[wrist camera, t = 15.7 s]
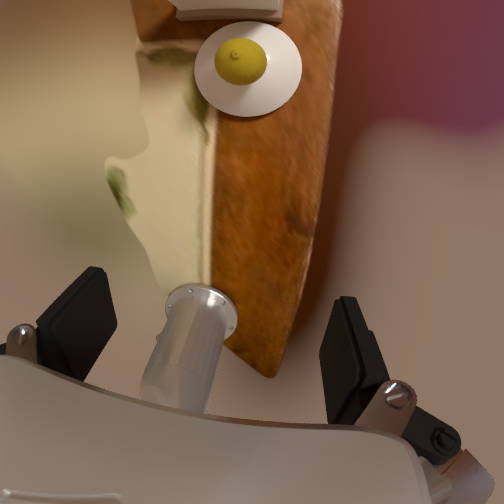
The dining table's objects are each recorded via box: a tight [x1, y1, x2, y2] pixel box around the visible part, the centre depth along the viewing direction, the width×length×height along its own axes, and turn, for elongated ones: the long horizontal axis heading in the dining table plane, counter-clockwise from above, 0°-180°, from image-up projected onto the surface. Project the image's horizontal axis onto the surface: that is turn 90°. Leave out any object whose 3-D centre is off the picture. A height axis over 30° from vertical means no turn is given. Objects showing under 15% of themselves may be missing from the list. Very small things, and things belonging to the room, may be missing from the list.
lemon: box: [214, 38, 267, 86], centre depth 25 cm, size 6×6×8 cm
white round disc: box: [194, 21, 302, 117], centre depth 29 cm, size 13×13×1 cm
